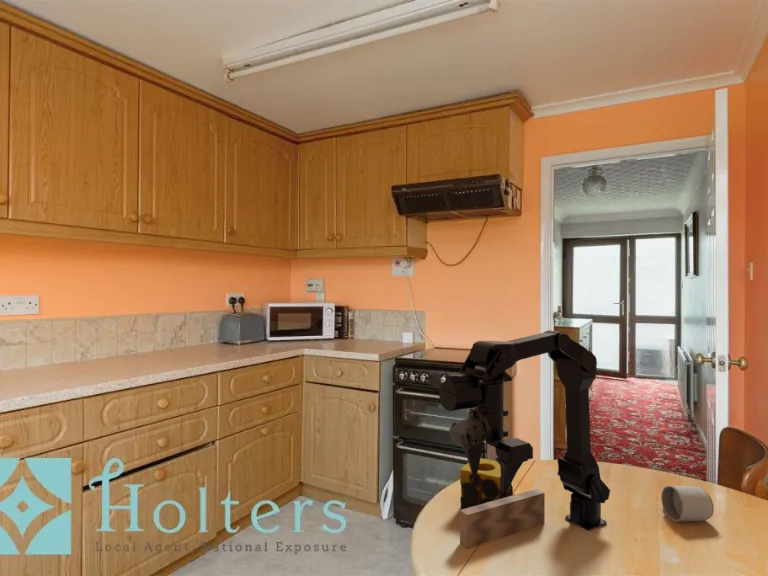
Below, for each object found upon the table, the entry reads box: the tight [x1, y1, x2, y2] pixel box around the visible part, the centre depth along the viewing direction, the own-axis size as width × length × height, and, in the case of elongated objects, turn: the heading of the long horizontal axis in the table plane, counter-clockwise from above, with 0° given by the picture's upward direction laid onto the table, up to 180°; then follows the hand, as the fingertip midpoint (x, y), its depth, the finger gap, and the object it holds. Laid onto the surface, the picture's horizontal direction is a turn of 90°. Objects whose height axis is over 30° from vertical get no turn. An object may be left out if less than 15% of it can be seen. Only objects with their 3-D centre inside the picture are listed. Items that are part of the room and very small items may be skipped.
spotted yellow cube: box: [459, 457, 514, 510], centre depth 117 cm, size 10×10×10 cm
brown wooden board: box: [459, 488, 546, 550], centre depth 104 cm, size 22×2×7 cm, turn 118°
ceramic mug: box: [660, 484, 715, 523], centre depth 112 cm, size 11×8×8 cm
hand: (489, 482), depth 96 cm, fingers open, 9 cm apart
